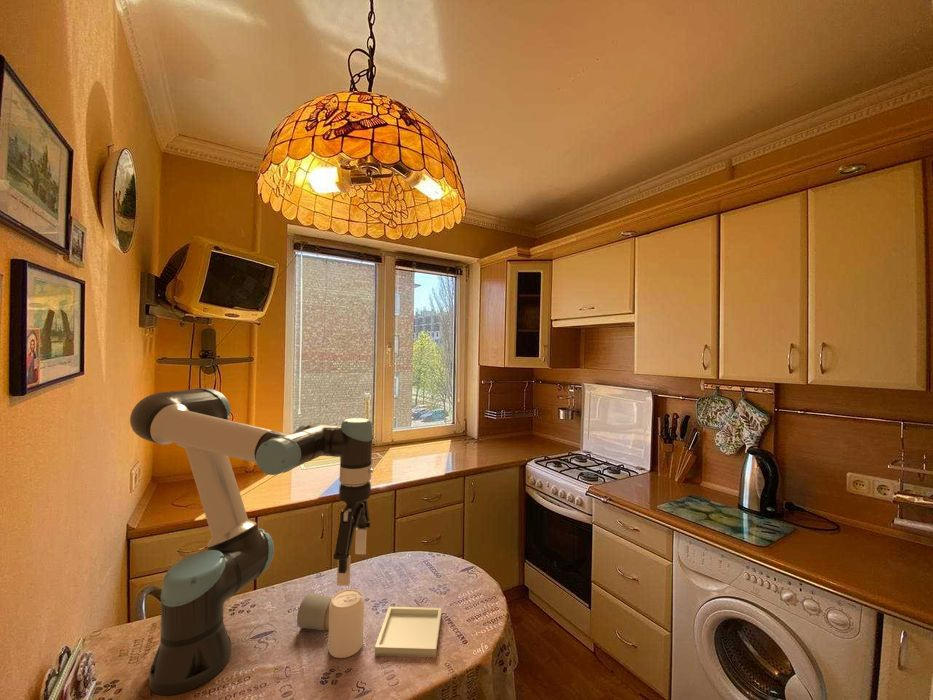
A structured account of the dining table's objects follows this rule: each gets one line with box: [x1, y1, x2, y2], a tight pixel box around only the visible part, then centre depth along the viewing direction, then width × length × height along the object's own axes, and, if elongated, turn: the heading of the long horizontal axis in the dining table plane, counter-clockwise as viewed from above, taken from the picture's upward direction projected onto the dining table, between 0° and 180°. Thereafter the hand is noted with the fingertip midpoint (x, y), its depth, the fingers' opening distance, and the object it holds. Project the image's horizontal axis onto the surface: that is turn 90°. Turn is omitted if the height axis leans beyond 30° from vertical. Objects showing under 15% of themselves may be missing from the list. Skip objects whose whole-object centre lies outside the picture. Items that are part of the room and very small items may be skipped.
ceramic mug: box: [296, 592, 333, 631], centre depth 101 cm, size 11×8×8 cm
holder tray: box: [374, 606, 443, 659], centre depth 97 cm, size 15×15×2 cm
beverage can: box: [327, 588, 365, 659], centre depth 92 cm, size 8×8×12 cm
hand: (352, 568), depth 93 cm, fingers open, 13 cm apart
